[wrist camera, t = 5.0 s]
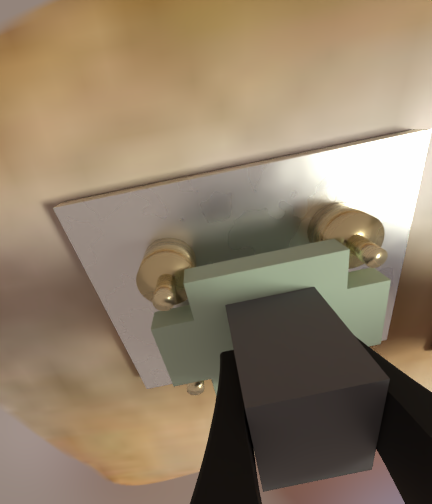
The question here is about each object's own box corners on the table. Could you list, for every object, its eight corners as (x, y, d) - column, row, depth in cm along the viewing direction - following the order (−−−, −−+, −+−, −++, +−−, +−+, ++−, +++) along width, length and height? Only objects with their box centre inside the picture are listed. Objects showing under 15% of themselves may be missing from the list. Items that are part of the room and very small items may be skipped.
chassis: (413, 129, 12) (524, 129, 8) (377, 329, 19) (428, 384, 15) (62, 202, 12) (-1, 238, 8) (149, 376, 19) (137, 444, 15)
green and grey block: (377, 229, 11) (539, 309, 6) (363, 352, 14) (456, 470, 9) (141, 278, 11) (96, 400, 6) (183, 389, 14) (178, 527, 9)
